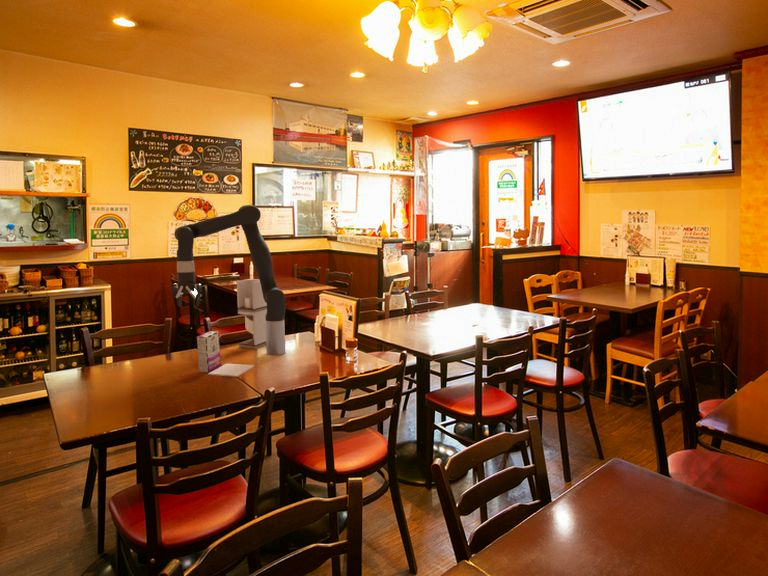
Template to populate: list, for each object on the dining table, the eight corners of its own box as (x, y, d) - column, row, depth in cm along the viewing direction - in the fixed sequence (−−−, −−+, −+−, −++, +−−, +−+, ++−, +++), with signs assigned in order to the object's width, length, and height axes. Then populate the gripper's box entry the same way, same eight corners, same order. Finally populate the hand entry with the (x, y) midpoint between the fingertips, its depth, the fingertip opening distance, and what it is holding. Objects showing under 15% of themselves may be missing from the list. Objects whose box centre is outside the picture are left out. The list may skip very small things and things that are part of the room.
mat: (226, 364, 248) (226, 363, 248) (254, 366, 245) (254, 365, 245) (208, 374, 233) (208, 373, 232) (237, 376, 230) (237, 375, 229)
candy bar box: (211, 365, 247) (209, 330, 245) (220, 366, 246) (219, 331, 244) (198, 372, 236) (196, 336, 234) (208, 373, 235) (206, 336, 233)
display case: (252, 342, 292) (250, 278, 287) (268, 343, 288) (266, 279, 283) (239, 346, 281) (236, 281, 277) (255, 348, 277) (253, 282, 272)
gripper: (204, 270, 243) (206, 305, 246) (176, 269, 246) (178, 304, 249) (195, 272, 236) (197, 308, 238) (166, 271, 239) (169, 307, 241)
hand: (187, 306), depth 243 cm, fingers open, 7 cm apart
